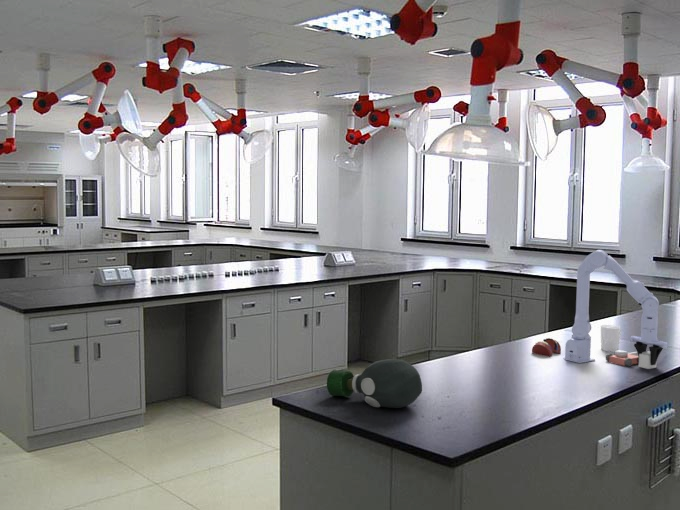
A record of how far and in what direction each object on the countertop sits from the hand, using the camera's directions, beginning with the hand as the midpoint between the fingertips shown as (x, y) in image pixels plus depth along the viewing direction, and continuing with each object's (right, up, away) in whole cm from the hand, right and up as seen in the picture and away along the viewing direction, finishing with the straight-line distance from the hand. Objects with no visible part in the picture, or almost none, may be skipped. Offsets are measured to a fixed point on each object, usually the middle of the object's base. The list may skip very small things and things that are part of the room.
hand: (647, 363), depth 261 cm
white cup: (-3, +1, +29) cm, 30 cm away
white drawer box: (0, -1, 0) cm, 1 cm away
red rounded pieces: (-32, 0, +22) cm, 39 cm away
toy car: (-2, -1, +9) cm, 9 cm away
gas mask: (-106, -5, -48) cm, 116 cm away
